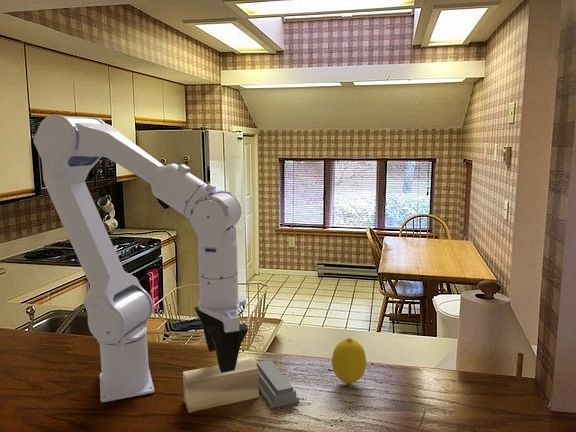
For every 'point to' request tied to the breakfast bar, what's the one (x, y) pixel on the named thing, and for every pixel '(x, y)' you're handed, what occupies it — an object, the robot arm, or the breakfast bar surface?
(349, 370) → the lemon
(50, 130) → the robot arm
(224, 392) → the bar
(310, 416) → the breakfast bar surface
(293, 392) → the stepped block
